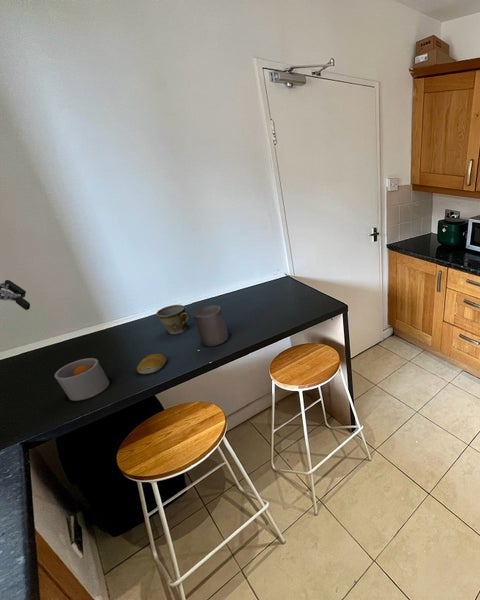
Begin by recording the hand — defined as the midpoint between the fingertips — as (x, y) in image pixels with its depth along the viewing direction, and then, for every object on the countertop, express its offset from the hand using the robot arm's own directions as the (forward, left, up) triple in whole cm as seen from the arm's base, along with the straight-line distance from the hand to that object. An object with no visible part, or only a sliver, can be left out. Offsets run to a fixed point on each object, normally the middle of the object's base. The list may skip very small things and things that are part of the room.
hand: (10, 314), depth 94 cm
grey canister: (+34, -35, -27) cm, 56 cm away
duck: (+1, -14, -26) cm, 30 cm away
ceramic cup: (+37, -15, -27) cm, 48 cm away
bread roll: (+14, -25, -27) cm, 39 cm away
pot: (0, -15, -27) cm, 31 cm away
